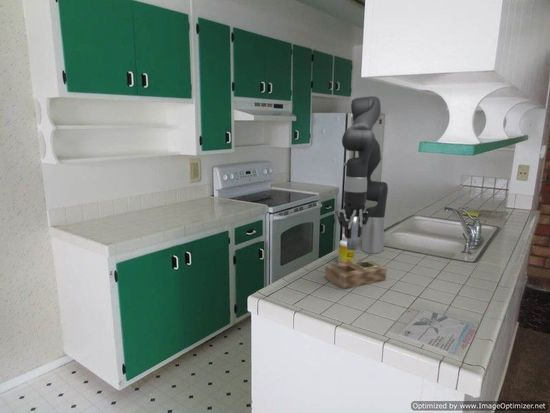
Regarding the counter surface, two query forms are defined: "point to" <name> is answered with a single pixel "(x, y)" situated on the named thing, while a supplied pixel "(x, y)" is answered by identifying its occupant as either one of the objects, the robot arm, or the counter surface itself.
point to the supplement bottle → (345, 251)
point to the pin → (353, 235)
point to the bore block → (355, 273)
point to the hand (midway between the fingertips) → (352, 237)
